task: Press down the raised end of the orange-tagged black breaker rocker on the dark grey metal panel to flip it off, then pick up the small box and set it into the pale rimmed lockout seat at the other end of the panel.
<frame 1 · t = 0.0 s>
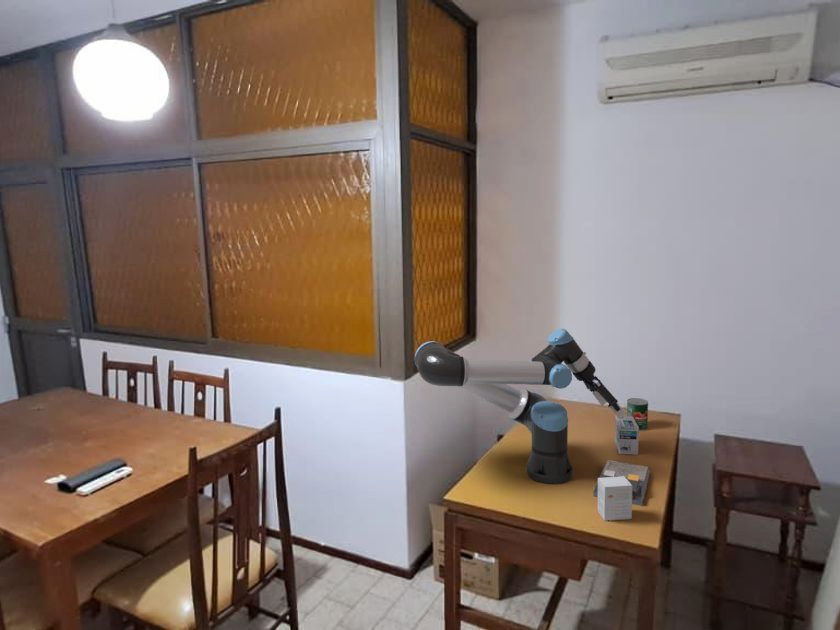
hand: (613, 409, 193), 15 cm above the table, tool tilted 35°, fingers open, 13 cm apart
canned tomato: (636, 427, 215), on the table
panel: (622, 484, 169), on the table
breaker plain: (608, 480, 166), point 3 cm above the table, hinge at -15.0°
small box: (614, 515, 153), on the table
light bulb box: (626, 449, 195), on the table
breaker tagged: (632, 484, 162), point 3 cm above the table, hinge at -15.0°
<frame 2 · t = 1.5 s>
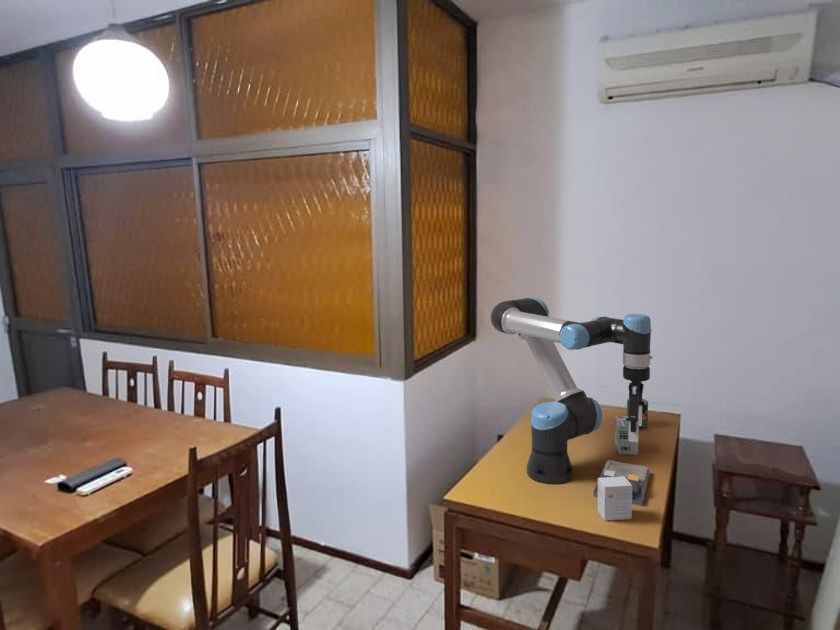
hand: (635, 433, 163), 19 cm above the table, tool pointing down, fingers open, 13 cm apart
nothing on the table moved.
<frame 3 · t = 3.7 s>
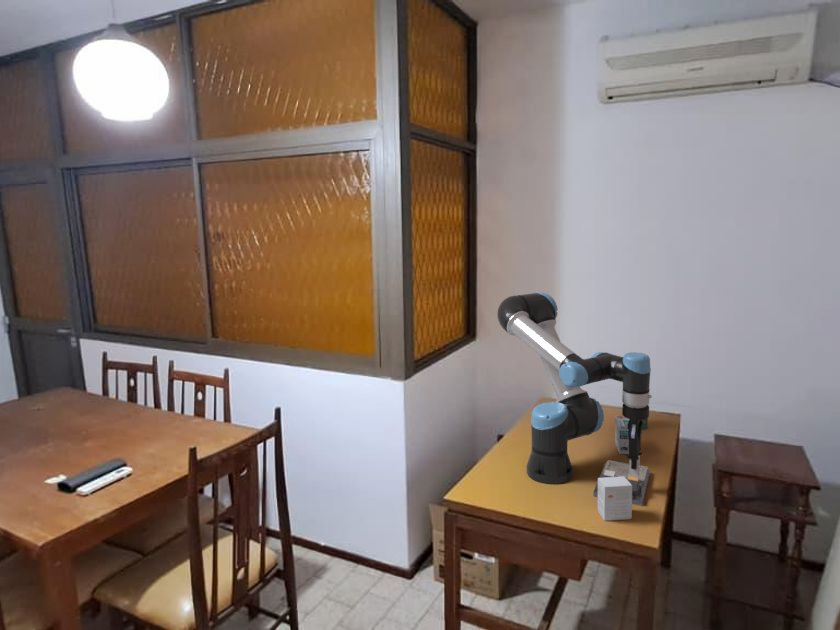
hand: (634, 476, 165), 5 cm above the table, tool pointing down, fingers closed, pressing on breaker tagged
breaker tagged: (632, 484, 162), point 3 cm above the table, hinge at -12.4°, touching gripper
everything else where it was.
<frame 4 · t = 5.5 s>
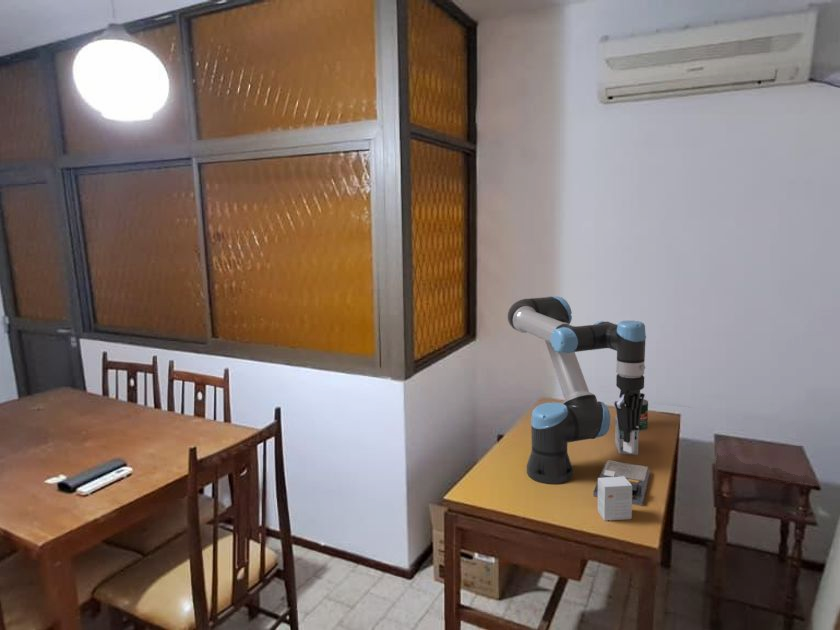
hand: (628, 451, 158), 16 cm above the table, tool pointing down, fingers closed
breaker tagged: (632, 484, 162), point 3 cm above the table, hinge at 16.4°
everything else where it was.
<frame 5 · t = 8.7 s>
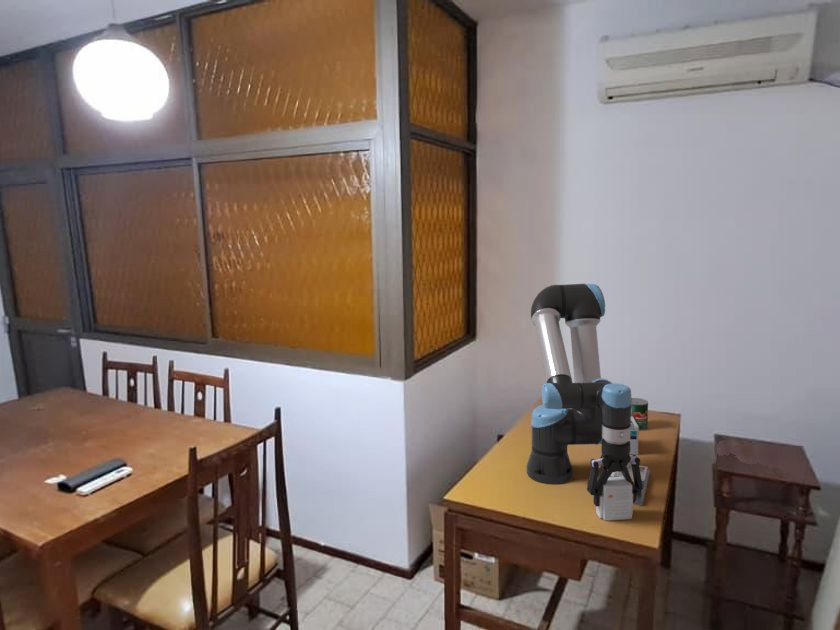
hand: (614, 513, 153), 0 cm above the table, tool pointing down, fingers closed on small box, 8 cm apart
small box: (614, 515, 153), on the table, touching gripper
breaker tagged: (632, 484, 162), point 3 cm above the table, hinge at 15.0°
everything else where it was.
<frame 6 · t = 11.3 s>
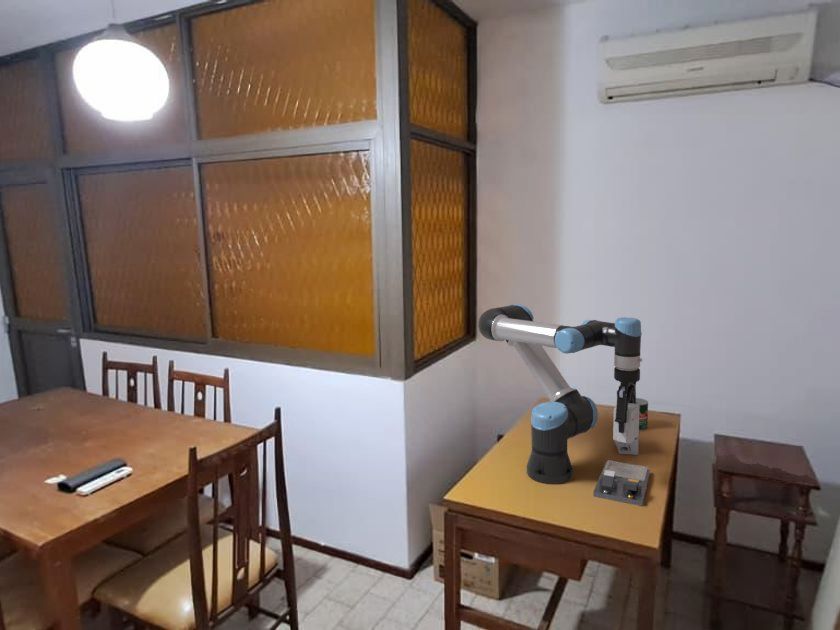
hand: (625, 436, 169), 15 cm above the table, tool pointing down, fingers closed on small box, 8 cm apart
small box: (625, 438, 169), point 15 cm above the table, touching gripper
everything else where it was.
when the fingers open (3 cm above the table, at t = 14.2 s): small box drops 1 cm, resting on panel.
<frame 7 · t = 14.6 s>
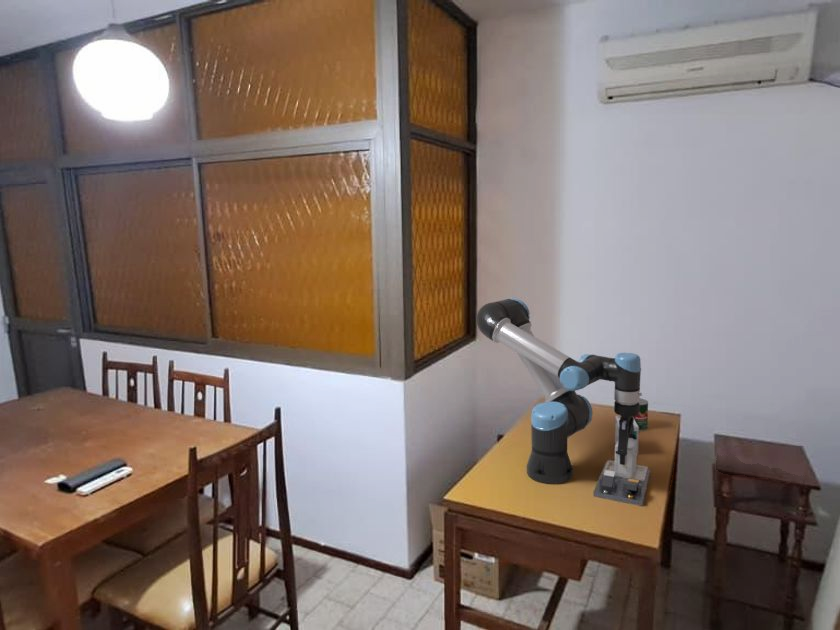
hand: (625, 464, 173), 5 cm above the table, tool pointing down, fingers open, 12 cm apart
small box: (625, 473, 174), point 1 cm above the table, touching panel
everything else where it was.
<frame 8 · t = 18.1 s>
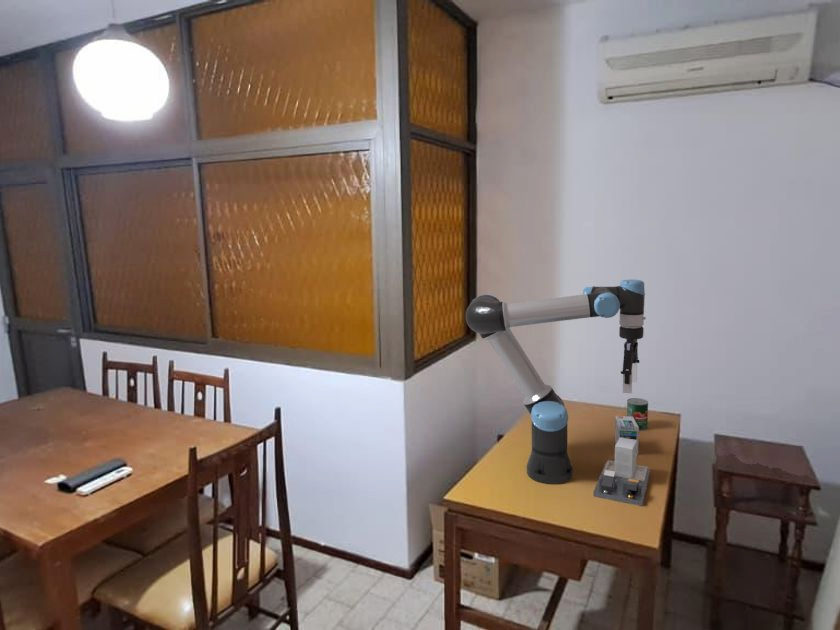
hand: (629, 386, 182), 27 cm above the table, tool pointing down, fingers open, 13 cm apart
nothing on the table moved.
at the end: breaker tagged at +15° (first picture: -15°); small box inside the target area (0.3 cm from its centre), point 1.4 cm above the table; small box tilted 0° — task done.
